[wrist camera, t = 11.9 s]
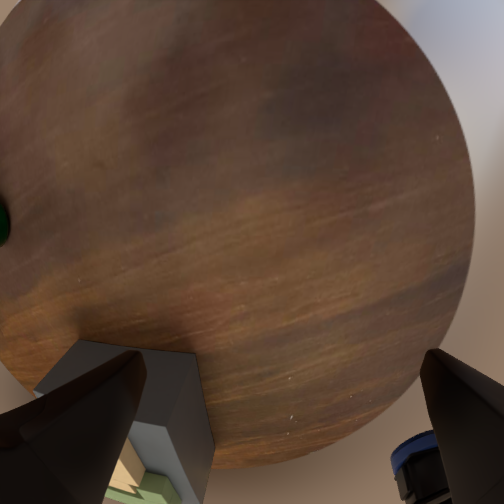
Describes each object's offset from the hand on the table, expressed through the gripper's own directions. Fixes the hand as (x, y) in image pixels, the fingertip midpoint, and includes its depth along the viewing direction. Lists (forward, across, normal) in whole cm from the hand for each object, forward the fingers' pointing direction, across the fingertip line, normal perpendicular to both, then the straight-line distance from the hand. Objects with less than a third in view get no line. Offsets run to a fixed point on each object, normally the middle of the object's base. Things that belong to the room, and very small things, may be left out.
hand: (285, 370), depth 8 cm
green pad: (+4, +13, +19) cm, 23 cm away
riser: (+12, +13, +16) cm, 24 cm away
